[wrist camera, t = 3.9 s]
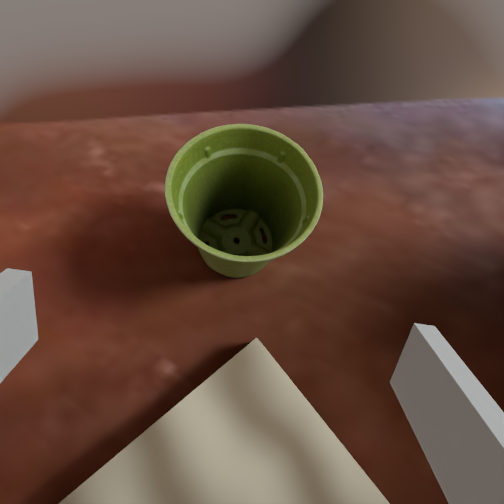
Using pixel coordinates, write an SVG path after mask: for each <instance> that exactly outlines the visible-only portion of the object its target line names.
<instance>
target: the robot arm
mask: <svg viewBox="0 0 504 504" xmlns="http://www.w3.org/2000/svg"><path fill="white" fill-rule="evenodd" d="M37 340H38V331H37V321H36V311H35V301H34V291H33V282H32V272H31V271H23V270H16V269H9V268H7V269H6V270H4V271H3V272H2V273H0V383H1V382H2V381H3V379H4V378H5V377H6V376H7V375H8V374H9V373H10V371H11V370H12V369H13V368H14V367H15V366H16V364H17V363H18V362H19V361H20V360H21V359H22V358H23V356H24V355H25V354H26V353H27V352H28V351H29V349H30V348H31V347H32V346H33V345H34V344H35V343H36V341H37ZM390 384H391V386H392V388H393V390H394V392H395V394H396V396H397V398H398V400H399V403H400V405H401V407H402V409H403V411H404V413H405V415H406V417H407V419H408V421H409V423H410V425H411V427H412V429H413V431H414V433H415V435H416V438H417V440H418V442H419V444H420V446H421V448H422V450H423V452H424V454H425V456H426V458H427V460H428V462H429V464H430V466H431V468H432V471H433V473H434V475H435V477H436V479H437V481H438V483H439V485H440V487H441V489H442V491H443V493H444V495H445V497H446V499H447V501H448V503H449V504H504V412H503V411H502V410H501V408H500V407H499V406H498V405H497V403H496V402H495V401H494V400H493V398H492V397H491V396H490V395H489V393H488V392H487V391H486V390H485V388H484V387H483V386H482V385H481V383H480V382H479V381H478V380H477V378H476V377H475V376H474V375H473V373H472V372H471V371H470V370H469V368H468V367H467V366H466V365H465V363H464V362H463V361H462V360H461V358H460V357H459V356H458V354H457V353H456V352H455V351H454V349H453V348H452V347H451V346H450V344H449V343H448V342H447V341H446V339H445V338H444V337H443V336H442V334H441V333H440V332H439V331H438V329H437V328H436V327H435V326H432V325H425V324H417V323H414V324H413V327H412V329H411V332H410V334H409V336H408V339H407V341H406V344H405V346H404V349H403V351H402V353H401V356H400V358H399V361H398V363H397V366H396V368H395V370H394V373H393V375H392V378H391V380H390Z"/></svg>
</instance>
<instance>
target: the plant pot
mask: <svg viewBox="0 0 504 504" xmlns="http://www.w3.org/2000/svg"><path fill="white" fill-rule="evenodd" d="M165 198H166V203H167V207H168V210H169V212H170V215H171V217H172V219H173V221H174V223H175V224H176V226H177V227H178V229H179V230H180V231H181V233H182V234H183V235H184V236H185V237H186V238H187V239H188V240H189V241H190V242H191V243H193V244H194V245H195V246H196V247H197V248H198V250H199V252H200V254H201V256H202V258H203V260H204V261H205V263H206V264H207V265H208V266H209V267H210V268H212V269H213V270H215V271H216V272H218V273H220V274H222V275H225V276H228V277H233V278H241V277H247V276H250V275H253V274H255V273H257V272H258V271H260V270H261V269H262V268H263V267H264V266H265V265H266V264H267V263H268V262H269V261H270V260H272V259H275V258H278V257H280V256H283V255H285V254H287V253H289V252H290V251H292V250H293V249H295V248H296V247H297V246H299V245H300V244H301V243H302V242H303V241H304V240H305V239H306V238H307V237H308V236H309V235H310V233H311V232H312V230H313V229H314V227H315V226H316V224H317V222H318V219H319V217H320V214H321V210H322V204H323V188H322V183H321V179H320V176H319V174H318V172H317V169H316V167H315V165H314V163H313V162H312V160H311V159H310V158H309V157H308V155H307V154H306V152H305V151H304V150H303V149H302V148H301V147H300V146H299V145H298V144H296V143H295V142H293V141H292V140H291V139H289V138H288V137H286V136H285V135H283V134H281V133H279V132H277V131H274V130H271V129H269V128H266V127H262V126H257V125H250V124H232V125H224V126H219V127H215V128H212V129H209V130H207V131H205V132H202V133H200V134H199V135H197V136H196V137H194V138H192V139H191V140H190V141H188V142H187V143H186V144H185V145H184V146H183V147H182V148H181V149H180V150H179V151H178V153H177V154H176V155H175V157H174V158H173V160H172V162H171V164H170V166H169V168H168V171H167V175H166V180H165ZM230 214H234V215H237V217H236V218H230V219H226V220H221V218H222V217H223V216H225V215H230ZM260 228H261V229H263V230H264V233H265V235H266V237H267V242H266V243H263V239H262V235H261V232H260V231H259V229H260ZM234 238H238V239H239V241H240V242H239V243H238V244H236V243H234ZM207 241H208V242H209V246H208V245H206V244H205V243H206V242H207Z"/></svg>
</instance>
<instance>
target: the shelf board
mask: <svg viewBox="0 0 504 504" xmlns="http://www.w3.org/2000/svg"><path fill="white" fill-rule="evenodd" d="M59 504H390V503H389V502H388V501H387V500H386V498H385V497H384V496H383V495H382V493H381V492H380V491H379V490H378V488H377V487H376V486H375V485H374V483H373V482H372V481H371V480H370V478H369V477H368V476H367V475H366V473H365V472H364V471H363V470H362V468H361V467H360V466H359V465H358V463H357V462H356V461H355V460H354V458H353V457H352V456H351V455H350V453H349V452H348V451H347V450H346V448H345V447H344V446H343V445H342V443H341V442H340V441H339V440H338V438H337V437H336V436H335V435H334V433H333V432H332V431H331V430H330V428H329V427H328V426H327V425H326V423H325V422H324V421H323V420H322V418H321V417H320V416H319V414H318V413H317V412H316V411H315V409H314V408H313V407H312V406H311V404H310V403H309V402H308V401H307V399H306V398H305V397H304V396H303V394H302V393H301V392H300V391H299V389H298V388H297V387H296V386H295V384H294V383H293V382H292V381H291V379H290V378H289V377H288V376H287V374H286V373H285V372H284V371H283V369H282V368H281V367H280V366H279V364H278V363H277V362H276V361H275V359H274V358H273V357H272V356H271V354H270V353H269V352H268V351H267V349H266V348H265V347H264V346H263V344H262V343H261V342H260V341H259V339H258V338H255V339H254V340H253V341H252V342H251V343H249V344H248V345H247V346H246V347H245V348H243V349H242V350H241V351H240V352H239V353H237V354H236V355H235V356H234V357H233V358H232V359H230V360H229V361H228V362H227V363H226V364H224V365H223V366H222V367H221V368H220V369H218V370H217V371H216V372H215V373H214V374H212V375H211V376H210V377H209V378H208V379H206V380H205V381H204V382H203V383H202V384H201V385H199V386H198V387H197V388H196V389H195V390H193V391H192V392H191V393H190V394H189V395H187V396H186V397H185V398H184V399H183V400H181V401H180V402H179V403H178V404H177V405H175V406H174V407H173V408H172V409H171V410H170V411H168V412H167V413H166V414H165V415H164V416H162V417H161V418H160V419H159V420H158V421H156V422H155V423H154V424H153V425H152V426H150V427H149V428H148V429H147V430H146V431H144V432H143V433H142V434H141V435H140V436H138V437H137V438H136V439H135V440H134V441H133V442H131V443H130V444H129V445H128V446H127V447H125V448H124V449H123V450H122V451H121V452H119V453H118V454H117V455H116V456H115V457H113V458H112V459H111V460H110V461H109V462H107V463H106V464H105V465H104V466H103V467H102V468H100V469H99V470H98V471H97V472H96V473H94V474H93V475H92V476H91V477H90V478H88V479H87V480H86V481H85V482H84V483H82V484H81V485H80V486H79V487H78V488H76V489H75V490H74V491H73V492H72V493H71V494H69V495H68V496H67V497H66V498H65V499H63V500H62V501H61V502H60V503H59Z"/></svg>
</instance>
